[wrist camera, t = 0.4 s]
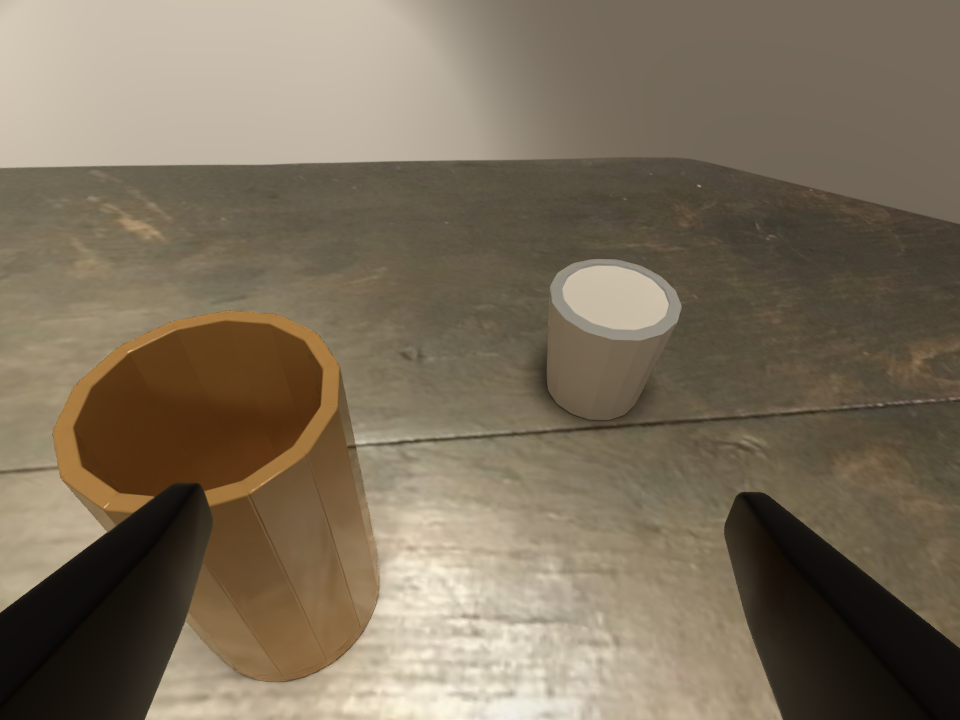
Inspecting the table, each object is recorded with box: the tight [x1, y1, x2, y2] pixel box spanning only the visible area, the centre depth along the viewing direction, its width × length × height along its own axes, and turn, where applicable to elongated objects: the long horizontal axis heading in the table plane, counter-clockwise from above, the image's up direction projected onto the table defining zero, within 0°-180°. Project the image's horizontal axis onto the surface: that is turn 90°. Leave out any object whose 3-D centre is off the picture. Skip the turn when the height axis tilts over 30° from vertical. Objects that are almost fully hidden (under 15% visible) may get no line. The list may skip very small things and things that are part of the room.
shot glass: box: [546, 259, 682, 420], centre depth 32 cm, size 7×7×7 cm
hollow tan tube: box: [52, 311, 379, 681], centre depth 20 cm, size 7×8×13 cm
